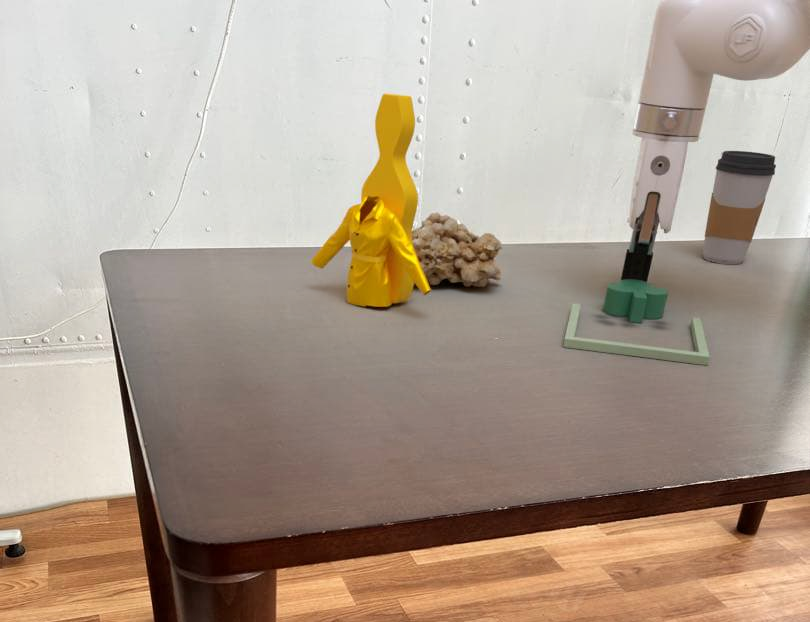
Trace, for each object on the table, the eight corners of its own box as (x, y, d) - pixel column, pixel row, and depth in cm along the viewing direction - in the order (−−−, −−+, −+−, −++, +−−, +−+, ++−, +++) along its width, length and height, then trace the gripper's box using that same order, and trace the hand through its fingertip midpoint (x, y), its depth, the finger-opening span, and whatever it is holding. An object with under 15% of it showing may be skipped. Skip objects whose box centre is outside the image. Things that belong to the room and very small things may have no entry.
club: (666, 325, 96) (672, 300, 95) (605, 319, 97) (609, 294, 95) (657, 305, 103) (663, 281, 102) (600, 300, 104) (604, 276, 102)
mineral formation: (397, 291, 102) (395, 254, 114) (499, 313, 104) (487, 274, 116) (412, 226, 98) (408, 195, 110) (518, 250, 100) (503, 217, 112)
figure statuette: (300, 292, 100) (297, 87, 88) (343, 280, 105) (345, 86, 94) (417, 325, 91) (430, 103, 80) (456, 311, 97) (474, 101, 85)
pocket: (571, 311, 99) (572, 303, 99) (698, 326, 97) (700, 318, 96) (563, 347, 88) (564, 338, 87) (707, 365, 85) (709, 356, 85)
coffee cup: (749, 269, 123) (779, 160, 115) (692, 261, 125) (717, 154, 117) (750, 257, 129) (778, 154, 121) (696, 250, 132) (720, 148, 124)
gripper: (705, 133, 87) (664, 304, 97) (697, 121, 99) (662, 274, 109) (633, 126, 88) (600, 296, 98) (635, 115, 101) (605, 266, 111)
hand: (633, 284), depth 104 cm, fingers closed
